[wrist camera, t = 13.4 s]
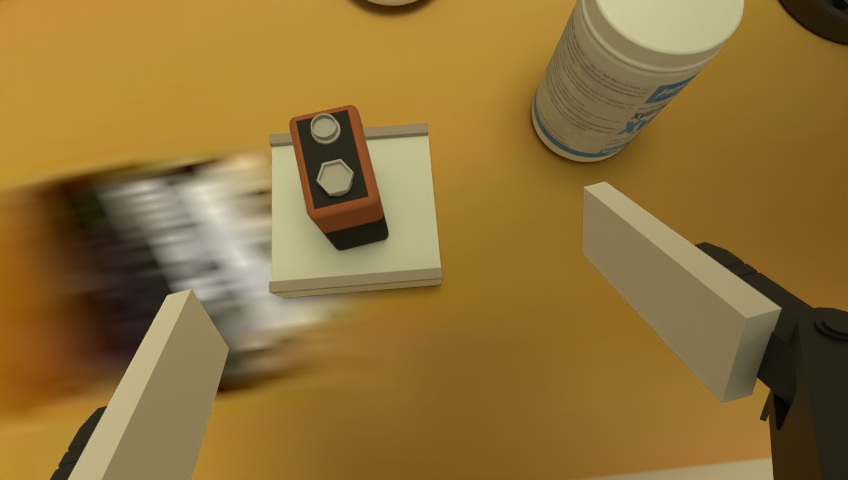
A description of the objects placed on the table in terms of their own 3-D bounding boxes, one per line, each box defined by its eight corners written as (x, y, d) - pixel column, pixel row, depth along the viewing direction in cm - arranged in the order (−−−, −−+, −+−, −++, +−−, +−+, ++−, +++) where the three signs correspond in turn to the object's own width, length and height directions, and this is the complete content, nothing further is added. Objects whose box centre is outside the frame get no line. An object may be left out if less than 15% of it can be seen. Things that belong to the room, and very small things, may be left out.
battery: (336, 253, 33) (302, 214, 24) (319, 174, 35) (281, 108, 25) (390, 239, 34) (379, 195, 24) (371, 162, 35) (353, 91, 25)
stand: (426, 143, 39) (427, 123, 35) (440, 284, 36) (442, 277, 32) (283, 154, 38) (269, 134, 35) (283, 297, 35) (269, 292, 32)
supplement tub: (608, 182, 38) (721, 84, 24) (512, 138, 39) (565, 18, 25) (645, 98, 40) (768, -39, 26) (552, 57, 41) (623, -95, 27)
